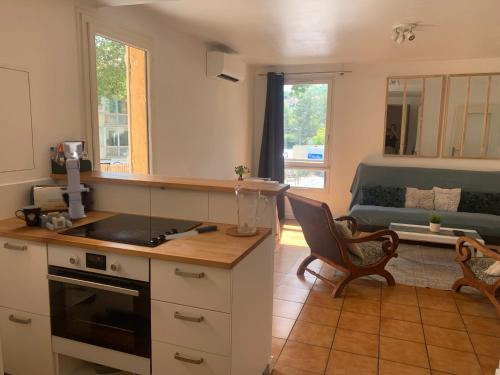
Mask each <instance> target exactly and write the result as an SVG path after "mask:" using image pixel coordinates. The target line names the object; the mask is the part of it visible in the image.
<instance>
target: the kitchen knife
mask: <svg viewBox="0 0 500 375" xmlns="http://www.w3.org/2000/svg"><path fill="white" fill-rule="evenodd" d="M212 231H218V225H216V224H215V225H207V226H202V227H198V228H195V229H193V230H189V231H185V232H180V233H172V234H167V235H165V240H166V241H167V240H174V239H181V238H185V237H192V236H193V237H194V236H198V235H200V234H199V233H207V232H212Z"/></svg>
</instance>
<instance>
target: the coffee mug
mask: <svg viewBox="0 0 500 375" xmlns="http://www.w3.org/2000/svg"><path fill="white" fill-rule="evenodd" d="M18 212H22V213H23V216H24V218H22V217H20V216H19V215H17V214H18ZM14 215H15V217H17V218H18V219H20V220H22V221H24V222H25V224H26V227H27V226H29V228H33V226H34V227H40V226H39V216H42V206H41V205H28V206H27V205H26V206H23V207H22V209H19V210H16V211H15V213H14Z"/></svg>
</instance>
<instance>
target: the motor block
mask: <svg viewBox="0 0 500 375" xmlns="http://www.w3.org/2000/svg"><path fill="white" fill-rule="evenodd" d="M56 216H62V217H64V218H65V220H68V221H70V222H71V218H70V214H69V212H65V211H64V212H59V211H55V212H48V213H47V214H41V216H39V226H38V227H40V226H41V229H43V228H47V227H46V222H49V223H50V224H52V218H54V217H56Z"/></svg>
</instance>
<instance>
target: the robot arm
mask: <svg viewBox="0 0 500 375" xmlns="http://www.w3.org/2000/svg"><path fill="white" fill-rule="evenodd" d="M63 153H64V156H65V158H66V160H65V167H66V173H67V183H68V184H67V186H68V187H67V189H63V190H62V189H61V190H59V195H61V197H62V199H63V200H64V203H65V204H66V208H67V209H68V214H70V219H72V220H76V219H81V218H87V215H85V211H84V209H85V208H84V206H85V204H86V200H87V197H88V195H89V192H90V188H89V187H83V186H82V185H81V178H80V168H81V165H80V159H81V158H82V157H83V143H82V141H77V142H75V141H73V142H71V141H70V142H66V141H64V142H63Z"/></svg>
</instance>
